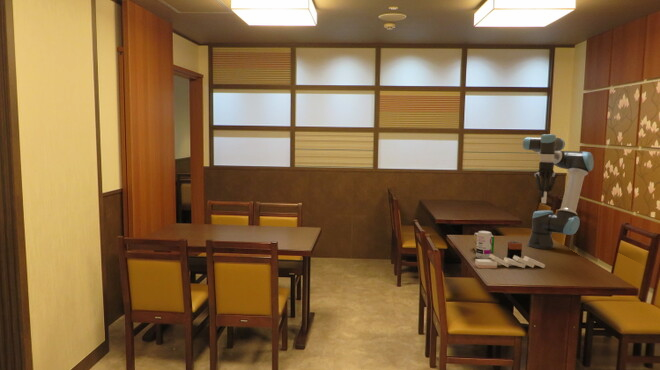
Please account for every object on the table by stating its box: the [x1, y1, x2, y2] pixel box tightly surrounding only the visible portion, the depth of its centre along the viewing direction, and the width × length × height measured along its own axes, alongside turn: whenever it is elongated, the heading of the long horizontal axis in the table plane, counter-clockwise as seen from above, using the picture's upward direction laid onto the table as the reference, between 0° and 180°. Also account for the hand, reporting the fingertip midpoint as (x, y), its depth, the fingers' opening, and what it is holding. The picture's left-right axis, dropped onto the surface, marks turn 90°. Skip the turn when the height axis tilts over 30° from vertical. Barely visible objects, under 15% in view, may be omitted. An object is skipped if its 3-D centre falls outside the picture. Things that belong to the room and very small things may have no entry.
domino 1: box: [474, 258, 498, 267], centre depth 259 cm, size 2×5×10 cm
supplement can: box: [475, 230, 493, 259], centre depth 277 cm, size 8×8×15 cm
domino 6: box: [522, 255, 546, 269], centre depth 260 cm, size 2×5×10 cm
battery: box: [506, 240, 523, 260], centre depth 278 cm, size 4×7×10 cm, turn 89°
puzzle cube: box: [472, 232, 495, 254], centre depth 294 cm, size 10×10×10 cm
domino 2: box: [474, 263, 498, 269], centre depth 258 cm, size 2×5×10 cm
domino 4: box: [502, 256, 527, 269], centre depth 259 cm, size 2×5×10 cm
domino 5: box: [513, 255, 536, 268], centre depth 260 cm, size 2×5×10 cm
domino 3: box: [489, 253, 511, 268], centre depth 259 cm, size 2×5×10 cm
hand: (543, 202), depth 275 cm, fingers closed
